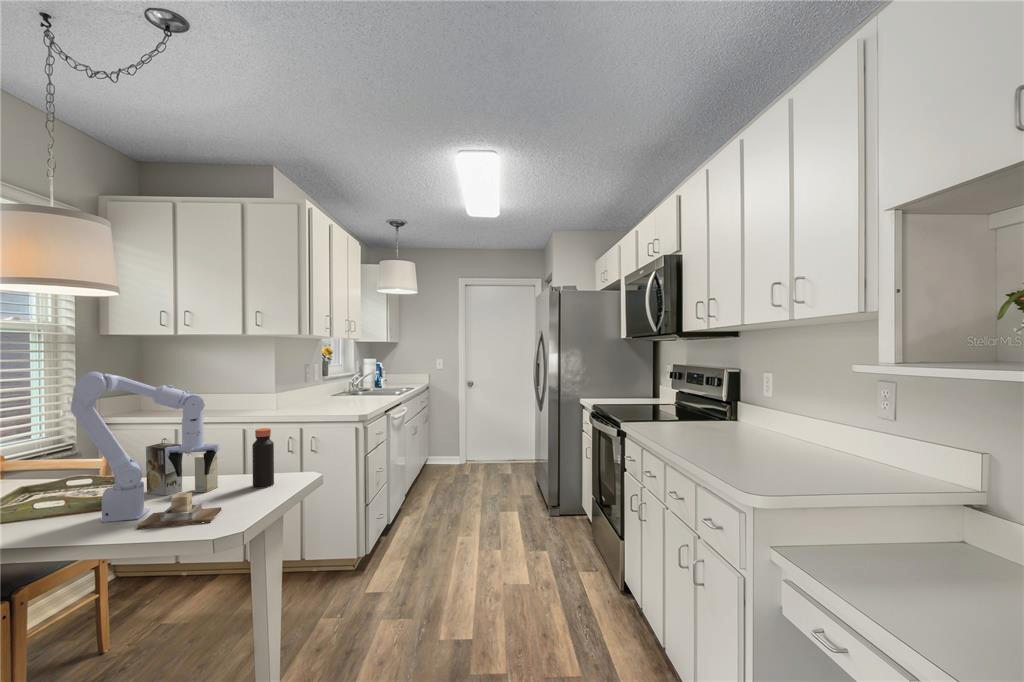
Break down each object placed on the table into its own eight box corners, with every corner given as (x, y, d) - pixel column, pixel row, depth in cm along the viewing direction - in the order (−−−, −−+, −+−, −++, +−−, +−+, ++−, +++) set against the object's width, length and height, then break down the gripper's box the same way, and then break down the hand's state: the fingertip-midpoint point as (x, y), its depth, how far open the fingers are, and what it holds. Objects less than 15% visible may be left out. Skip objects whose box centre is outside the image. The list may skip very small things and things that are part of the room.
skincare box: (207, 492, 169) (206, 457, 169) (194, 492, 169) (193, 457, 169) (218, 486, 175) (218, 452, 175) (206, 486, 175) (205, 452, 175)
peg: (171, 518, 142) (171, 498, 142) (176, 513, 146) (176, 493, 146) (187, 517, 143) (186, 496, 143) (192, 512, 147) (191, 492, 147)
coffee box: (183, 490, 171) (183, 444, 171) (165, 496, 165) (165, 448, 165) (163, 488, 174) (163, 442, 174) (145, 493, 168) (144, 446, 168)
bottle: (253, 484, 178) (252, 428, 178) (274, 481, 181) (273, 427, 181) (252, 489, 172) (251, 432, 172) (273, 486, 175) (273, 430, 175)
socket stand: (137, 529, 137) (137, 518, 137) (153, 516, 147) (153, 506, 147) (211, 522, 142) (210, 512, 142) (221, 510, 152) (221, 500, 152)
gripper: (161, 436, 151) (161, 480, 151) (214, 433, 155) (215, 476, 155) (170, 431, 158) (170, 474, 158) (221, 429, 161) (221, 470, 162)
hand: (193, 475), depth 157 cm, fingers open, 7 cm apart
